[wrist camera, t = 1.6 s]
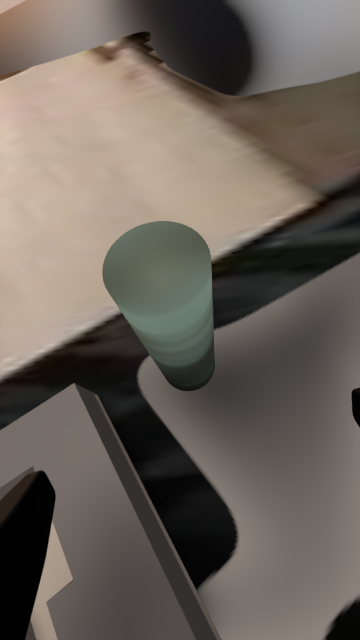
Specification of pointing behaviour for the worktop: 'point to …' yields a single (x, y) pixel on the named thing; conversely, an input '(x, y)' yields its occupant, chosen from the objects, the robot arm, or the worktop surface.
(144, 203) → the worktop surface
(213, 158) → the worktop surface
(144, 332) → the teal post
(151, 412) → the worktop surface
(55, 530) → the keyhole plate
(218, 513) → the worktop surface
